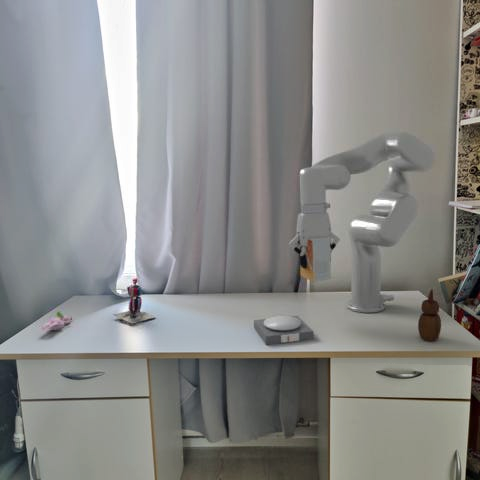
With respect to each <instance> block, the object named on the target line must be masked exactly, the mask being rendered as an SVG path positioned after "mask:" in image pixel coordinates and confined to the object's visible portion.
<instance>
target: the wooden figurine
mask: <svg viewBox="0 0 480 480" xmlns="http://www.w3.org/2000/svg"><path fill="white" fill-rule="evenodd" d="M420 307H421V311H422V313H421V314H420V315H419V318H418V321H417V322H418V324H417V328H418V334H419V337H420V339H422V340H423V341H427V342H435V341H436V340H439V338H440V337H439V336H440V333H441V330H442V320H441V316H440V314H438V313H439V312H440V303H439V302H438V301H437V300H435V299H434V289H433V288H432V289H430V291H429V293H428V297H427V299H425V300H423V301H422V303H421V306H420Z"/></svg>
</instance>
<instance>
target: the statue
mask: <svg viewBox="0 0 480 480" xmlns="http://www.w3.org/2000/svg"><path fill="white" fill-rule="evenodd" d="M137 283H138V278H137V277H134V278H133V279H132V284H131V285H129V286H127V287H126V289H127V294H128V295H129V297H130V298H129V301H128V310H127V311H124V312H119V313H113V314H112V316H114V317H116V318H117V319H119V321H120V322H122V321H123V323H124V324H128V325H129V326H137V323H146V322H147V320H152V319H153V320H155V319H156V316H155V315H152V314H150V313H148V312H146V311H144V310H143V311H141V309H142V297H141V295H142V286H141V285H138V284H137Z"/></svg>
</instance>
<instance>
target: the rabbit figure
mask: <svg viewBox="0 0 480 480" xmlns="http://www.w3.org/2000/svg"><path fill="white" fill-rule="evenodd" d="M57 317H58V318H57ZM73 320H74V319H73V318H72V316H69V317H68V316H65V315H63V314H62V313H61V310H58V311H57V312H56V317H54V318H51V319H50V320H49V321H48V322H45V323H43V324H42V327H41V329H42V330H45V329H46V330H47V331H48V330H52V331H53V330H54V331H59V330H60V329H62V328H64V326H65V325H70V323H71V322H72V321H73Z"/></svg>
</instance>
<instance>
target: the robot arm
mask: <svg viewBox="0 0 480 480" xmlns="http://www.w3.org/2000/svg"><path fill="white" fill-rule="evenodd" d="M436 159H437V155H436V152H435V150H434V148H432V146H431V145H429V144H428V143H426V142H425V141H423V140H422V139H420V138H418V137H416V136H415V135H413V134H412V133H408V132H406V131H402V132H401V131H398V132H397V131H396V132H384V133H380V134H377V135H376V136H374V137H371V139H369V140H367V141H365V142H363V143H362V144H360V145H358V146H356V147H354V148H351V149H347V150H344V151H342V152H339V153H336V154H333V155H330V156H328V157H326V158H324V159H321V160H319V161H318V162H316V163H314V164H313V165H312V166H311V167H310V166H309V167H304V168H302V169H301V170H299V171H300V172H299V190H300V191H299V193H300V194H299V195H300V197H299V198H300V213H298V214H297V221H296V233H295V236H294V237H293V238H292V239H291V240H290V241H289V242H288V245H289V247H290V248H291V249H292V250H293V251H295V253H296V254H298V264H299V267H300V266H301V267H302V268H304V269H305V268H306V256H305V255H304V253H305V251H306V249H307V247H308V239H314V238H323V237H329V238H330V263H331V262H332V261H331V260H332V256H331V253H332V252H333V250H334V249H335V248H336V247H337V245H338V243H339V242H340V240H341V239H340V237H338V236H337V235H336V234H334V233H333V232H332V225H331V219H330V215H329V212H328V211H327V210H328V209H331V204H330V203H327V198H326V197H327V196H326V195H327V193H326V192H327V190H330V191H340V190H342V189H344V188H346V187H347V186H349V184H350V182H351V178H352V176H351V175H358V174H363V173H367V172H369V171H371V170H372V169H374V168H375V167H377V166H379V165H381V164H383V163H384V162H386V168H387V179H386V181H385V183H384V184H383V186H382V187H381V188H380V189H379V191H378V192H377V193H376V195H375V196H374V198H373V199H372V200H371V202H370V205H369V208H368V210H369V214H359V215H358V214H357V215H356V216H354V217H353V218H351V220H350V222H349V223H348V224H349V225H348V236H349V241H350V247H351V274H350V275H351V281H350V282H351V283H350V284H351V287H350V288H351V293H350V297H351V298H350V300H348V301H347V302H346V308H347V309H348V310H350V311H353V312H357V313H364V314H367V313H368V314H369V313H371V314H372V313H378V312H382V311H383V310H385V308H386V307H385V306H386V305H385V302H391V301H394V299H395V298H394V295H393V294H388V295H387V294H386V293H384V294H382V293H381V280H382V279H381V278H382V275H381V273H382V255H381V251H380V248H379V247H383V248H391V247H394V246H395V245H397V244H398V243H399V242H400V240H401V239H402V238H403V236H404V235H405V233H407V231H408V229H409V228H410V227H411V225H412V224H413V222H414V220H415V219H416V217H417V215H418V210H419V203H418V200H417V198H416V197H415V196H414V195H412V194H410V191H411V182H410V180H409V178H408V174H407V172H411V173H412V172H417V173H418V172H419V173H420V172H421V173H424V172H425V173H426V172H428V171H430V170H432V169H433V168H434V166H435V164H436V162H437V160H436ZM296 244H297V245H298V246H299V248H298V246H297V245H296Z"/></svg>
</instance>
